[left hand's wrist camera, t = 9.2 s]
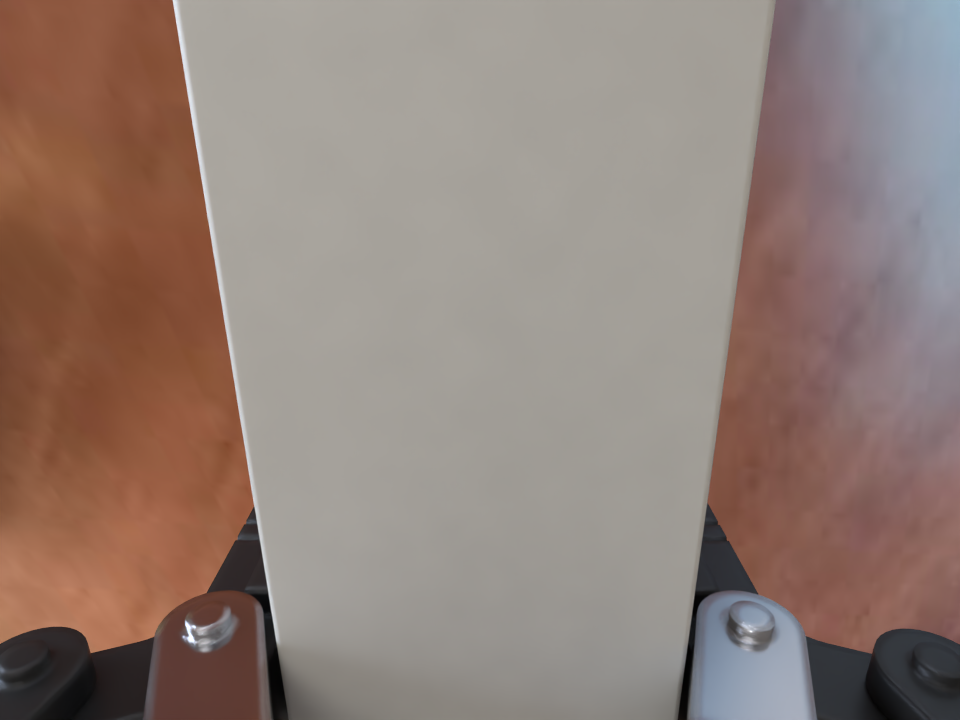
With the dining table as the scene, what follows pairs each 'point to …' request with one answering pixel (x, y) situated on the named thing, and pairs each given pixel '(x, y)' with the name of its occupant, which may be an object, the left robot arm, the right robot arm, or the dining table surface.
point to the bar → (478, 334)
